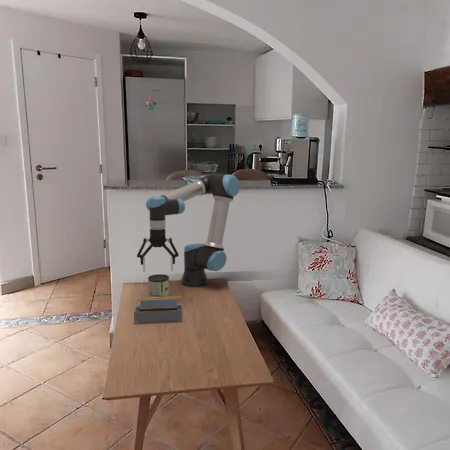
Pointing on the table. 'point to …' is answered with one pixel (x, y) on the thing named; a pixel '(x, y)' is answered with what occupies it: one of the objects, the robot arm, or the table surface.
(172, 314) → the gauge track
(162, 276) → the coffee can
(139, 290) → the table surface
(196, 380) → the table surface
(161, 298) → the carriage
